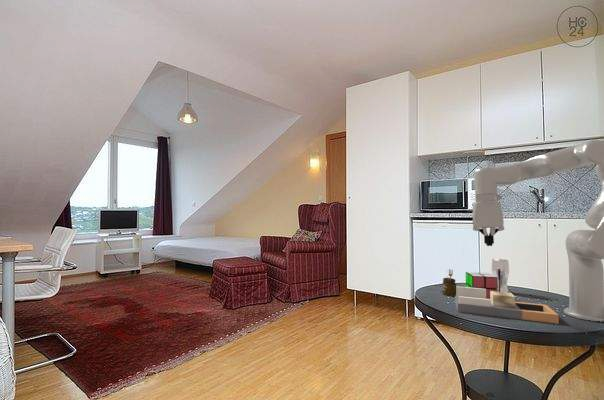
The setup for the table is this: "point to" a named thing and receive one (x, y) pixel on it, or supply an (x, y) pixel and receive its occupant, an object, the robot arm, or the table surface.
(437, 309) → the table surface
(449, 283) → the utensil holder
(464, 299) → the grey compartment tray
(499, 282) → the beer glass
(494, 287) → the puzzle cube
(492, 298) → the block
